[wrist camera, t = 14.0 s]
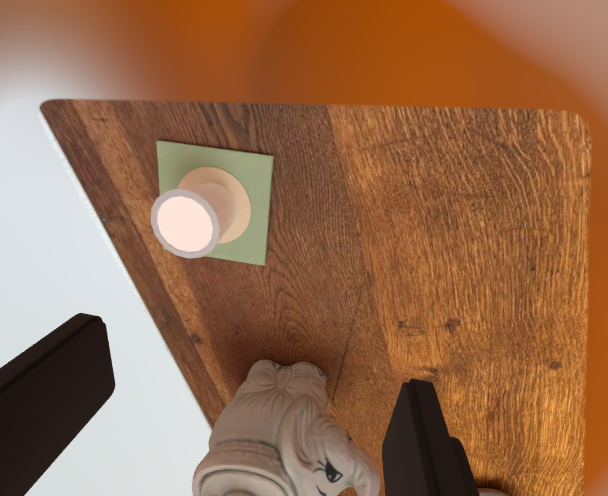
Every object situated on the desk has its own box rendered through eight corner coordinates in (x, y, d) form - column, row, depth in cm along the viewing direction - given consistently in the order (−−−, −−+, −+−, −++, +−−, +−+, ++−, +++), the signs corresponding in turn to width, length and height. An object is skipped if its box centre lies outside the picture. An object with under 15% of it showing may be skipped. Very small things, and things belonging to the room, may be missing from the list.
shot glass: (181, 175, 35) (144, 186, 28) (241, 178, 34) (216, 191, 28) (187, 233, 37) (154, 255, 31) (243, 237, 37) (221, 261, 30)
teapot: (375, 387, 44) (395, 562, 26) (310, 440, 49) (290, 613, 32) (281, 320, 41) (234, 463, 24) (223, 383, 47) (152, 536, 30)
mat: (159, 140, 35) (155, 140, 34) (273, 155, 34) (272, 156, 33) (165, 247, 40) (162, 250, 39) (265, 263, 39) (264, 266, 38)
